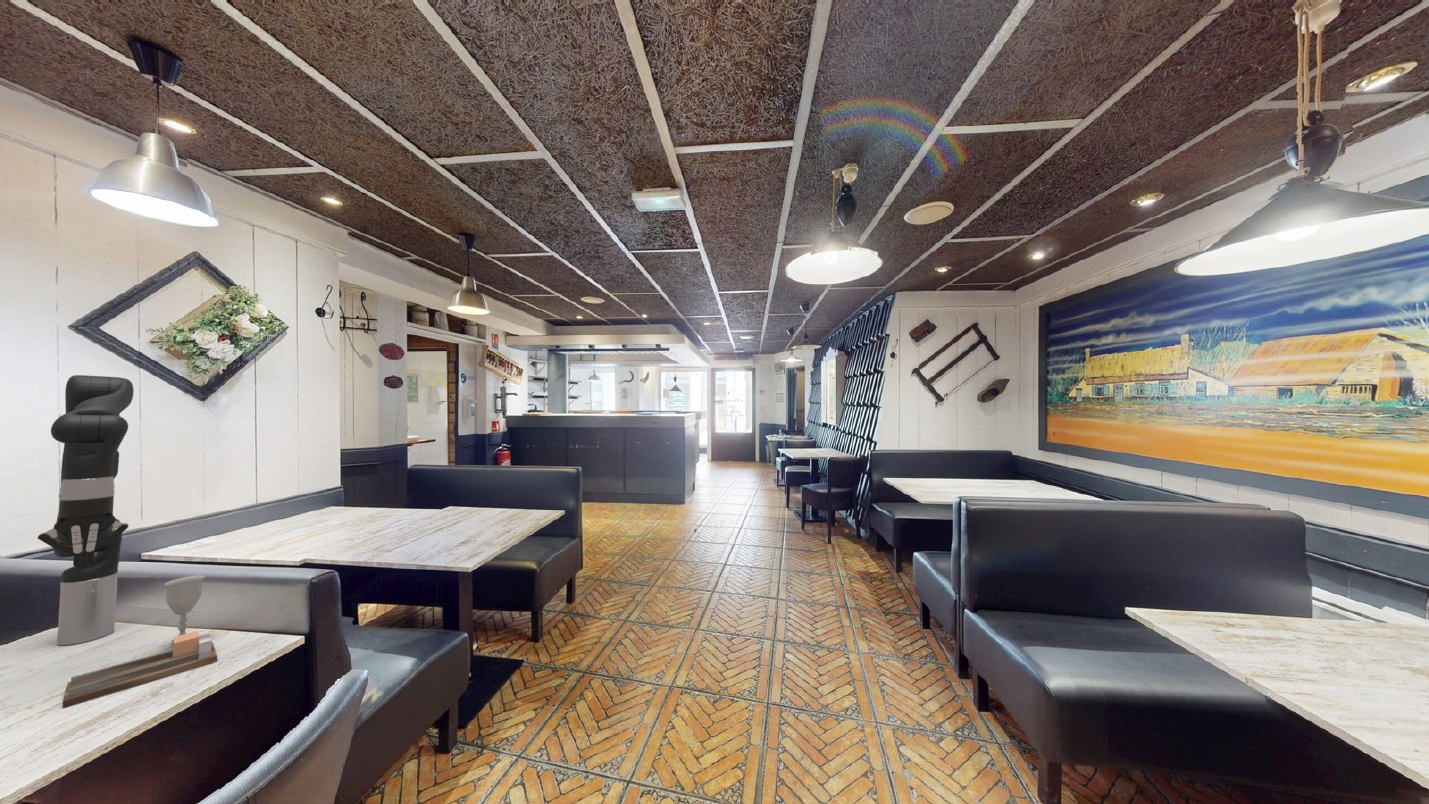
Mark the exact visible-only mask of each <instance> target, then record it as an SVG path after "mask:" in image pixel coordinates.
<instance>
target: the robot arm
mask: <svg viewBox="0 0 1429 804" xmlns="http://www.w3.org/2000/svg"><path fill="white" fill-rule="evenodd" d="M64 398H65V401H64V402H65V413H64V414H62V415H61V416H59V417H58V418H57V419H56V420H55V421H54V422H53V423H52V426H51V428H50V435H51V437H52V438H53V439H54V440H55V441H57V442H58V443H62V444H63V449H62V450H63V451H62V458H61V470H60V473H61V474H60V487H59V488H60V489H59V494H58V499H59V500H58V501H59V502H58V512H57V519H56V522H55V524H54V525H53V528H51V529H48V530H47V531H45V532H42V533H39V535H38V536H37V539H38V540H39V541H41V542H43V543H45V545H48V546H50V547H51V548H52V549H53V552H54V555H55V556H57V557H58V558H72V557H73V562H72V563H73V564H72V565H73V566H71V567H69V568H67V569H65V570H63V572H61V575H60V591H59V592H60V593H59V609H58V625H57V626H58V628H57V640H56V642H57V643H56V644H57V645H58V646H71V645H76V644H81V643H86V642H90V641H94V640H97V639H100V638H103V637H106V636H108V635H110V634H112V633H113V632H115V627H116V626H115V625H116V611H117V608H116V607H117V606H116V605H117V591H118V575H119V573H118V572H119V571H118V570H119V563H120V556H121V555H120V553H121V545H122V539H123V532H125V531H126V530H128V528H129V524H128V523H127V522H125V523H123V522H121V521H120V520H119V519H117V518H116V517H115V516H114V498H115V493H116V492H115V481H114V479H116V477H117V475H118V472H119V463H120V452H119V450H118V449H119V447H120V445H121V444H122V441H123V440H124V438H125V437H126V435H127V433H128V429H129V423H128V421H127V419H125V418H124V417H123V416H120V414H121V413H122V412H124V411H125V410H126V409H127V408H128V407H130V405H131V404H132V401H133V398H134V385H133V382H132V381H131V380H129V379H127V378H125V377H124V378H123V377H119V376H118V377H117V376H104V375H102V376H101V375H87V374H86V375H81V374H78V375H76V374H75V375H72V376H70V377H69V378H68V379H67V382H66V385H65V396H64Z"/></svg>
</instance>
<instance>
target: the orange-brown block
mask: <svg viewBox="0 0 1429 804" xmlns="http://www.w3.org/2000/svg"><path fill="white" fill-rule="evenodd" d="M198 633H199V632H198V630H195V631H192V632H188V633H186V634H184V635H180V636H179V635H176V636H173V638H172V640H173V654H172V658H173V659H175V658H179V657H182V656H186V655H189V654H193V653H196V652H199V634H198Z"/></svg>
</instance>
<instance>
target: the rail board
mask: <svg viewBox="0 0 1429 804" xmlns="http://www.w3.org/2000/svg"><path fill="white" fill-rule="evenodd" d="M198 634H199V652H196V653H193V654H189V655H186V656H182V657H179V658H175V659H173V658H172V654H173V650H167V651H163V652H159V653H155V654H152V655H149V656H143V657H140V658H137V659H134V660H130V661H126V662H123V663H119V664H116V665H111V666H108V667H104V668H101V669H97V670H93V671H89V672H86V673H85V672H84V673H82V674H78V675H74V676H71V678H70V681H68V682H67V684H66V687H65V692H64V695H63V699H62V709H65V708H68V707H71V706H75V705H77V704H78V705H79V704H81V703H84V702H85V703H86V702H88V701H92V700H94V699H98V698H101V696H102V697H104V695H105V696H108V695H111V694H114V693H117V692H120V691H121V690H122V691H125V690H128V689H130V688H134V686H135V687H139V686H142V685H144V684H147V683H152V682H154V681H159V680H160V679H164V677H165V678H167V677H171V676H175V675H177V674H182V673H185V672H187V670H188V671H191V670H194V669H198V668H201V667H204V665H205V666H207V664H208V665H211V664H214V663H213V662H215V663H217V662H218V654H217V650H216V647H215V643H214V642H212V638H211V634H210V631H209V630H205V631H201V632H198ZM216 661H217V662H216ZM210 663H211V664H210ZM197 667H198V668H197ZM190 669H191V670H190ZM184 671H185V672H184ZM122 691H121V692H122ZM107 694H108V695H107Z"/></svg>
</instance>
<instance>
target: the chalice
mask: <svg viewBox="0 0 1429 804" xmlns="http://www.w3.org/2000/svg"><path fill="white" fill-rule="evenodd" d="M205 577H206V576H205V575H201V574H199V575H198V574H197V575H188V576H186V577H185V576H184V577H180V578H176V579H172V580H170V581H167V582H165V583H164V584H163V585H164V586H165V587H166V603H167V605H168V607H169V609H170V610H171V611H172V612H173V613H174V614H175V615H179V616H180V619H179V621H178V623H179V627H178V628H177V630H179V634H178V636H180V635H184V634H187V633H186V630H187V628H188V625H187V621H188V619H187V614H188V613H190V612H192V610H193V609H194V608H195V606H196V604H197V603H198V601H199V600H200V597H201V596H202V588H203V587H202V586H203V580H204V578H205ZM166 650H167V651H170V650H173V639H172V640H171V642H170V643H169V646H168V648H166Z"/></svg>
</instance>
